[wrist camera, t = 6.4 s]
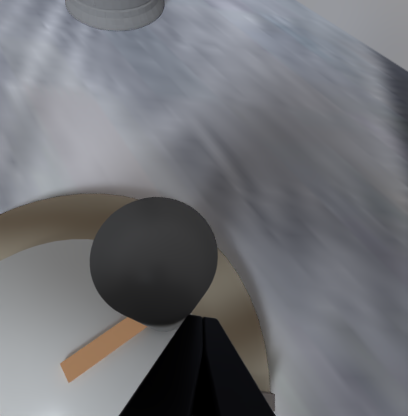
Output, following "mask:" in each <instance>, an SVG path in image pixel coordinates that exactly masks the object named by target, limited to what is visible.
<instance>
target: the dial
mask: <svg viewBox="0 0 408 416" xmlns="http://www.w3.org/2000/svg"><path fill="white" fill-rule="evenodd" d="M217 262H218V250H217V244H216V240H215V237H214V234H213V232H212V230H211V228H210V226H209V225H208V223H207V222H206V220H205V219H204V218H203V217H202V216H201V215H200V214H199V213H198V212H197V211H196V210H194V209H193V208H192V207H190V206H188V205H186V204H184V203H182V202H180V201H177V200H174V199H170V198H163V197H152V198H144V199H139V200H136V201H133V202H131V203H129V204H126V205H124V206H123V207H121V208H119V209H118V210H117V211H115V212H114V213H113V214H111V215H110V216H109V217H108V218H107V219H106V221H105V222H104V223H103V224H102V226H101V227H100V229H99V230H98V232H97V234H96V236H95V238H94V240H90V239H70V240H61V241H54V242H50V243H45V244H41V245H37V246H34V247H31V248H28V249H26V250H23V251H20V252H18V253H16V254H14V255H11V256H9V257H7V258H5V259H3V260H1V261H0V416H119V414H120V413H121V411H122V410H123V408H124V407H125V405H126V404H127V403H128V401H129V400H130V398H131V397H132V395H133V394H134V392H135V391H136V389H137V388H138V386H139V385H140V384H141V382H142V381H143V379H144V378H145V376H146V375H147V373H148V372H149V370H150V369H151V368H152V366H153V365H154V363H155V362H156V360H157V359H158V357H159V356H160V354H161V353H162V351H163V350H164V349H165V347H166V346H167V344H168V343H169V341H170V340H171V338H172V337H173V335H174V334H175V332H176V331H177V330H178V328H179V327H180V325H181V324H182V322H183V321H184V319H185V318H186V316H188V315H189V314H191V313H192V311H193V310H194V308H195V307H196V306H197V304H198V303H199V301H200V300H201V299H202V297H203V296H204V295H205V293H206V292H207V290H208V289H209V287H210V285H211V283H212V281H213V279H214V276H215V273H216V268H217ZM191 315H192V314H191Z"/></svg>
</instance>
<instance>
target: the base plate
mask: <svg viewBox="0 0 408 416" xmlns="http://www.w3.org/2000/svg"><path fill="white" fill-rule="evenodd" d="M136 200H138V199H134V198H130V197H125V196H119V195H110V194H75V195H66V196H58V197H53V198H49V199H44V200H40V201H36V202H33V203H30V204H27V205H24V206H20V207H17V208H14V209H12V210H10V211H7V212H5V213H3V214H1V215H0V261H1V260H3V259H5V258H7V257H9V256H11V255H14V254H16V253H18V252H20V251H23V250H26V249H28V248H31V247H34V246H37V245H41V244H45V243H50V242H54V241H61V240H70V239H90V240H94V238H95V236H96V234H97V232H98V230H99V229H100V227H101V226H102V224H103V223H104V222H105V221H106V219H107V218H108V217H109V216H110V215H111V214H113V213H114V212H115V211H117V210H118V209H119V208H121V207H123V206H124V205H126V204H129V203H131V202H133V201H136ZM217 250H218V262H217V268H216V273H215V276H214V279H213V281H212V283H211V285H210V287H209V289H208V290H207V292H206V293H205V295H204V296H203V297H202V299H201V300H200V301H199V303H198V304H197V306H196V307H195V308H194V310H193V311H192V313H191V314H192V315H198V316H201V317H202V318H203V317H211V318H216V319H218V321H219V322H220V324H221V326H222V327H223V329H224V331H225V332H226V334H227V336H228V337H229V339H230V341H231V342H232V344H233V346H234V347H235V349H236V351H237V352H238V354H239V356H240V357H241V359H242V361H243V362H244V364H245V366H246V367H247V369H248V371H249V372H250V374H251V376H252V377H253V379H254V381H255V382H256V384H257V386H258V387H259V389H260V391H261V392H262V394H263V396H264V397H265V399H266V401H267V402H268V404H269V406H270V407H271V409H272V411H275V394H273V393H271V392H270V384H269V369H268V362H267V354H266V347H265V343H264V339H263V335H262V331H261V327H260V323H259V319H258V317H257V314H256V312H255V309H254V306H253V304H252V301H251V299H250V296H249V294H248V292H247V290H246V288H245V287H244V285H243V283H242V281H241V279H240V277H239V275H238V274H237V272H236V271H235V269H234V268H233V267H232V265H231V264H230V262H229V261H228V259H227V258H226V257H225V255H224V254H223V253H222V252H221V251H220V250H219V249H218V248H217Z"/></svg>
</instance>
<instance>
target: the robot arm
mask: <svg viewBox="0 0 408 416" xmlns="http://www.w3.org/2000/svg"><path fill="white" fill-rule="evenodd" d="M119 416H275V414H274V412H273V411H272V409H271V407H270V406H269V404H268V402H267V401H266V399H265V397H264V396H263V394H262V392H261V391H260V389H259V387H258V386H257V384H256V382H255V381H254V379H253V377H252V376H251V374H250V372H249V371H248V369H247V367H246V366H245V364H244V362H243V361H242V359H241V357H240V356H239V354H238V352H237V351H236V349H235V347H234V346H233V344H232V342H231V341H230V339H229V337H228V336H227V334H226V332H225V331H224V329H223V327H222V326H221V324H220V322H219V321H218V319H216V318H211V317H203V318H202V317H201V316H198V315H191V314H189V315H188V316H186V318H185V319H184V321H183V322H182V324H181V325H180V327H179V328H178V330H177V331H176V332H175V334H174V335H173V337H172V338H171V340H170V341H169V343H168V344H167V346H166V347H165V349H164V350H163V351H162V353H161V354H160V356H159V357H158V359H157V360H156V362H155V363H154V365H153V366H152V368H151V369H150V370H149V372H148V373H147V375H146V376H145V378H144V379H143V381H142V382H141V384H140V385H139V386H138V388H137V389H136V391H135V392H134V394H133V395H132V397H131V398H130V400H129V401H128V403H127V404H126V405H125V407H124V408H123V410H122V411H121V413H120V414H119Z"/></svg>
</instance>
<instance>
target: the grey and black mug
mask: <svg viewBox="0 0 408 416" xmlns="http://www.w3.org/2000/svg"><path fill="white" fill-rule="evenodd" d="M65 4H66V7H67V10H68V11H69V13H70V14H71V15H72V16H73V17H74V18H75V19H77V20H78V21H80V22H81V23H83V24H86V25H88V26H90V27H94V28H97V29H102V30H108V31H127V30H133V29H137V28H141V27H144V26H146V25H148V24H150V23H152V22H153V21H155V20H156V19H157V18H158V17H159V16H160V15H161V13H162V11H163V8H164V0H65Z"/></svg>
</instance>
